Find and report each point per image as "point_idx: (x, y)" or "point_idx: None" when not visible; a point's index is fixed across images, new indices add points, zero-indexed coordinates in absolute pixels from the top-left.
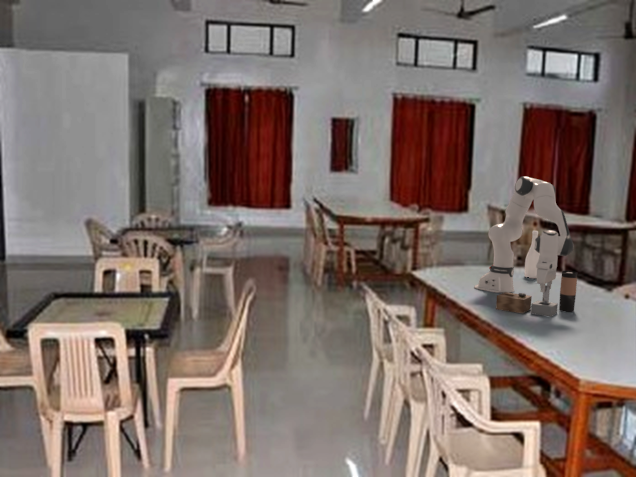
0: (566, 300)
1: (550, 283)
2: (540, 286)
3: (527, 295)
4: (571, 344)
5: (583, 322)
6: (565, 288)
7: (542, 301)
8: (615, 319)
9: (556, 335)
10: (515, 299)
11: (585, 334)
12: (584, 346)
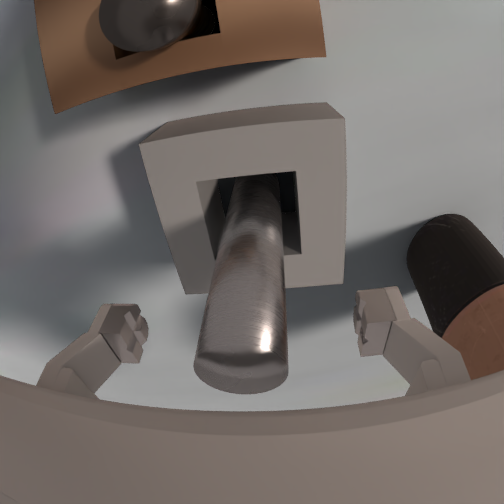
0: (428, 310)
1: (409, 373)
2: (61, 354)
3: (312, 8)
4: (9, 364)
5: None
6: None
7: (231, 215)
8: (371, 397)
9: (12, 335)
10: (44, 35)
11: None
12: (25, 381)
